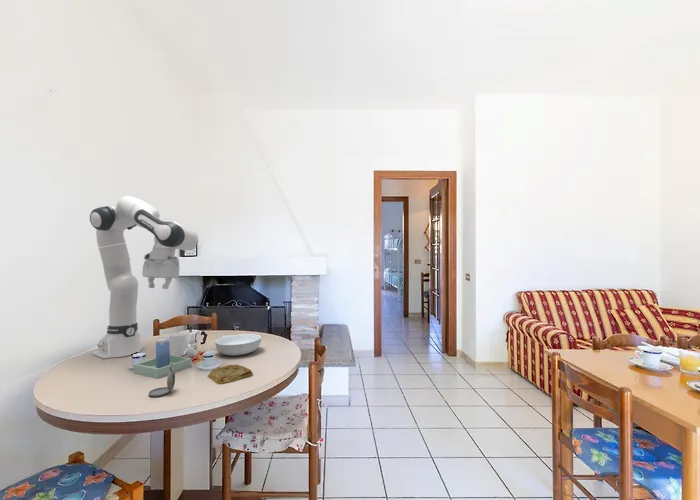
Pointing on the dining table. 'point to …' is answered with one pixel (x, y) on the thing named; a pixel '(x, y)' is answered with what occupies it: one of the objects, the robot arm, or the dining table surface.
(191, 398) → the dining table surface
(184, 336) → the white cup
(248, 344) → the serving bowl
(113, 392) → the dining table surface
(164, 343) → the shaker
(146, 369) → the tray
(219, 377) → the pastry
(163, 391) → the pocket watch
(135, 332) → the robot arm
